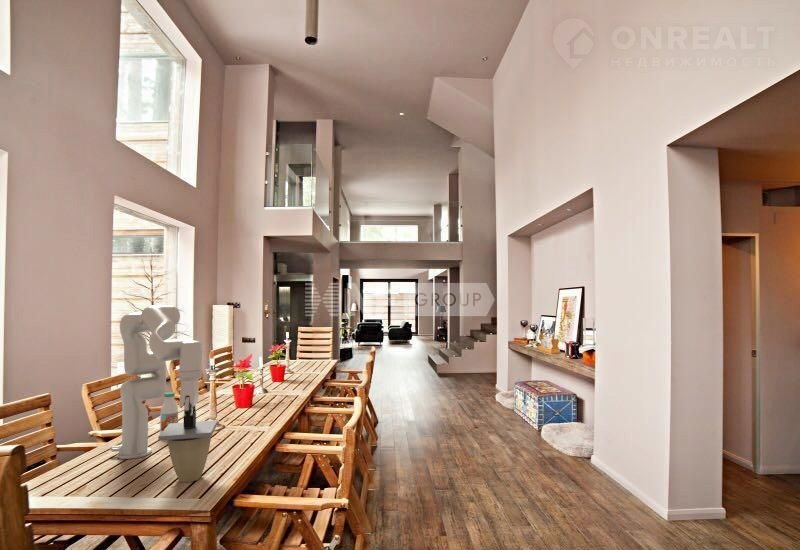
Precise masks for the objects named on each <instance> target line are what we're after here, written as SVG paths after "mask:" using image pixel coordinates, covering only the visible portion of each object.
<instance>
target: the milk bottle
mask: <svg viewBox="0 0 800 550" xmlns="http://www.w3.org/2000/svg"><path fill="white" fill-rule="evenodd" d="M175 395H176V393H175V392H173V391H171V392H165V394H164V395H163V397H164V401H163V404H162V405H161V408H160V419H159V420H160V421H159V423H160V424H159V425H160V426H159V435H160V434H161V433H162V432H163V431H164V429H165V428H166V427H167V426H168V425H169V424H170V423H179V408H178V405H177V403H176V401H175Z"/></svg>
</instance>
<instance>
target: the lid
mask: <svg viewBox="0 0 800 550" xmlns="http://www.w3.org/2000/svg"><path fill="white" fill-rule="evenodd" d="M217 426H218V420H205V421H204V420H203V421H202V420H201V421H197V412H196V413H193V427H184V422H178V423H170V424H169V425H168V426H167V427H166V428H165V429H164V431H163V432H162V433H161V434H160V433H159V435H158V436H157V437H158V438H157V439H158V440H157V441H158V442H159V441H160V442H161V441H167V440H175V439H189V438H203V437H211V438H212V436H213V434H214V431H216V428H217Z"/></svg>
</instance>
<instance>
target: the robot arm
mask: <svg viewBox="0 0 800 550" xmlns="http://www.w3.org/2000/svg"><path fill="white" fill-rule="evenodd" d="M180 320H181V313H180V310H179V309H178V307H176V306H174V305H150V306H147V307H145V308H144V309H142V311H141V312H133V313H132V312H131V313H128V314H125V315H123V316H122V317H121V318H120V321H119V332H120V335H121V338H122V342H123V365H124V366H123V368H124V373H125V374H126V375H127V376H132V377H134V376H143V375H150V376H147V377H138V378H132V379H128V380H126V381H124V382H123V383H122V384H121V386H120V388H119V389H120V390H119V392H120V398H121V405H122V407H121V408H122V411H121V413H122V420H121V422H122V424H121V425H122V428H121V429H122V430H121V444H120V445H112V446H110V452H112V453H116V452H117V454H116V455H117V458H118V459H120V460H121V459H122V460H133V459H139V458H142V457H145V456H148V455H150V454H151V453H152V447H150V446H148V444H149V442H148V441H149V439H148V437H149V409H148V407H147V406H146V405H145V404H144V403H143V401H147V400H154V399H158V398H162V397H164V394H165V393H166V392H167V391H166V390H167V362H169V361H175V360H176V361H177V360H179V366H178V367H179V375H178V376H179V378H178V379H179V381H181V382H180V392H179V409H183V408H184V409H183V423H184V427H193V413H196V414H197V404H198V403H199V392H200V390H199V389H200V388H199V387H200V386H199V383H200V382H199V380H200V379H203V378H202V373H203V372H202V371H203V363H202V362H203V361H202V360H203V355H202V354H203V344H202V342H201V341H200V340H193V339H190V338H185V339H184V338H183V339H181V338H179V339H170V340H169V338H171V337H172V336H173V335H174V334H175V332H176V329H177V327H176V326H177V324H179V322H180ZM142 333H151V334H150V336H149V338H148V339H149V340H148V342H149V343H148V344H149V348H150V351H148V350H147V346H148V345H147V339H146V338H145V337H144V335H142ZM167 339H168V340H167Z"/></svg>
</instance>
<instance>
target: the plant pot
mask: <svg viewBox="0 0 800 550" xmlns="http://www.w3.org/2000/svg"><path fill="white" fill-rule="evenodd" d="M166 441H167V445H168V452H169V455H170V461H171V464H172V467H173V469H174V472H175V475H176V477H177V479H178V481H179V483H191V482H192V483H193V482H195V481H198V480H199V479H200V478H201V477H202V476H203V475H202V474H203V472H204V469H205V466H206V463H207V460H208V455H209V451H210V447H211V446H210V445H211V441H212V436H211V437H203V438H189V439H175V440H166Z"/></svg>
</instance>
